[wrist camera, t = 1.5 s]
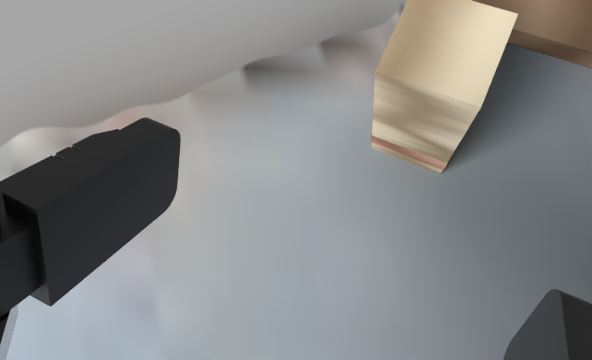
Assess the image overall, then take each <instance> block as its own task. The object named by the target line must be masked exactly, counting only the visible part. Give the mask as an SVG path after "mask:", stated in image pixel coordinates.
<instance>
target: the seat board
mask: <svg viewBox="0 0 592 360" xmlns="http://www.w3.org/2000/svg"><path fill="white" fill-rule="evenodd" d="M472 1H475V2H478V3H482V4H485V5H489V6H492V7H496V8H499V9H503V10H506V11H510V12H513V13H517V14H518V16H517V18H516V21H515V24H514V26H513V29H512V31H511V34H510V36H509V39H508V41H507V43H510V44H514V45H517V46H520V47H524V48H527V49H530V50H534V51H537V52H540V53H544V54H547V55H550V56H554V57H557V58H560V59H564V60H567V61H570V62H574V63H577V64H580V65H584V66H587V67H590V68H592V0H472Z"/></svg>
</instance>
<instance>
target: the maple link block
mask: <svg viewBox="0 0 592 360" xmlns="http://www.w3.org/2000/svg"><path fill="white" fill-rule="evenodd" d="M517 16H518V14H517V13H513V12H510V11H506V10H503V9H499V8H496V7H492V6H489V5H485V4H482V3H478V2H475V1H471V0H407V3H406V5H405V7H404V9H403V11H402V14H401V16H400V18H399V20H398V23H397V25H396V27H395V29H394V31H393V34H392V36H391V38H390V40H389V42H388V45H387V47H386V49H385V51H384V54H383V56H382V58H381V60H380V62H379V65H378V67H377V69H376V71H375V88H374V107H373V126H372V135H371V143H372V146H371V148H374V149H377V150H379V151H382V152H385V153H387V154H390V155H393V156H395V157H398V158H400V159H403V160H406V161H408V162H411V163H414V164H416V165H419V166H422V167H424V168H427V169H429V170H432V171H435V172H437V173H440V174H441V172H442V171H443V170H444V169H445V167H446V165H447V164H448V161H449V159H450V158H451V156H452V154H453V153H454V151H455V149H456V148H457V146H458V145H459V143H460V141H461V140H462V138H463V136H464V135H465V133H466V131H467V130H468V128H469V127H470V125H471V123H472V122H473V120H474V118H475V117H476V115H477V113H478V112H479V110H480V109H481V107H482V104H483V102H484V99H485V96H486V94H487V91H488V89H489V86H490V84H491V81H492V79H493V76H494V74H495V71H496V69H497V66H498V64H499V61H500V59H501V56H502V54H503V51H504V49H505V46H506V44H507V41H508V39H509V36H510V34H511V31H512V29H513V26H514V24H515V21H516V18H517Z"/></svg>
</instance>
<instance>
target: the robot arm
mask: <svg viewBox="0 0 592 360" xmlns="http://www.w3.org/2000/svg"><path fill="white" fill-rule="evenodd" d="M179 155H180V134H179V132H178V131H177V130H176V129H173V128H171V127H169V126H166V125H164V124H161V123H159V122H157V121H154V120H152V119H149V118H142V119H140V120H138V121H136V122H134V123H132V124H130V125H128V126H126V127H124V128H123V129H121V130H118V129H116V130H111V131H107V132H102V133H98V134H93V135H91V136H89V137H87V138H85V139H83V140H81V141H79V142H77V143H75V144H73V146H72V147H71V148H70V147H67V148H65V149H63V150H61V151H59V152H57V153H56V155H55V156H50V157H48V158H46V159H44V160H42V161H40V162H38V163H36V164H34V165H32V166H30V167H28V168H26V169H24V170H22V171H20V172H18V173H16V174H14V175H12V176H10V177H8V178H6V179H4V180H2V181H0V360H5V359H6V356H7V352H8V348H9V345H10V341H11V338H12V334H13V331H14V327H15V323H16V320H17V316H18V305H17V304H19V303H20V302H21V301H22V300H24V299H25V298H26V297H28V296H29V295H31V296H32V297H34V298H36V299H38V300H40V301H41V302H43V303H45V304H47V305H49V306H50V307H51V306H52V305H53V304H54V303H56V302H57V301H58V300H59V299H60V298H62V297H63V296H64V295H65V294H66V293H68V292H69V291H70V290H71V289H72V288H74V287H75V286H76V285H77V284H78V283H80V282H81V281H82V280H83V279H84V278H86V277H87V276H88V275H89V274H90V273H92V272H93V271H94V270H95V269H96V268H98V267H99V266H100V265H101V264H102V263H104V262H105V261H106V260H107V259H108V258H110V257H111V256H112V255H113V254H114V253H116V252H117V251H118V250H119V249H121V248H122V247H123V246H124V245H125V244H127V243H128V242H129V241H130V240H131V239H133V238H134V237H135V236H136V235H137V234H139V233H140V232H141V231H142V230H143V229H145V228H146V227H147V226H148V225H149V224H151V223H152V222H153V221H154V220H155V219H157V218H158V217H159V216H160V215H161V214H163V213H164V212H165V211H166V210H167V208H168V207H169V206H170V204H171V203H172V201H173V199H174V196H175V194H176V190H177V182H178V168H179ZM503 360H592V304H591V303H588V302H586V301H583V300H581V299H579V298H576V297H574V296H571V295H569V294H567V293H564V292H562V291H559V290H557V289H553V290H551V291H549V292H548V293H547V294H546V295H545V297H544V298H543V299H542V301H541V302H540V303H539V305H538V306H537V307H536V308H535V310H534V311H533V312H532V314H531V315H530V316H529V318H528V319H527V320H526V322H525V323H524V324H523V326H522V327H521V328H520V330H519V331H518V332H517V334H516V335H515V336H514V338H513V339H512V340H511V342H510V344H509V346H508V348H507V350H506V353H505V356H504V359H503Z"/></svg>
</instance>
